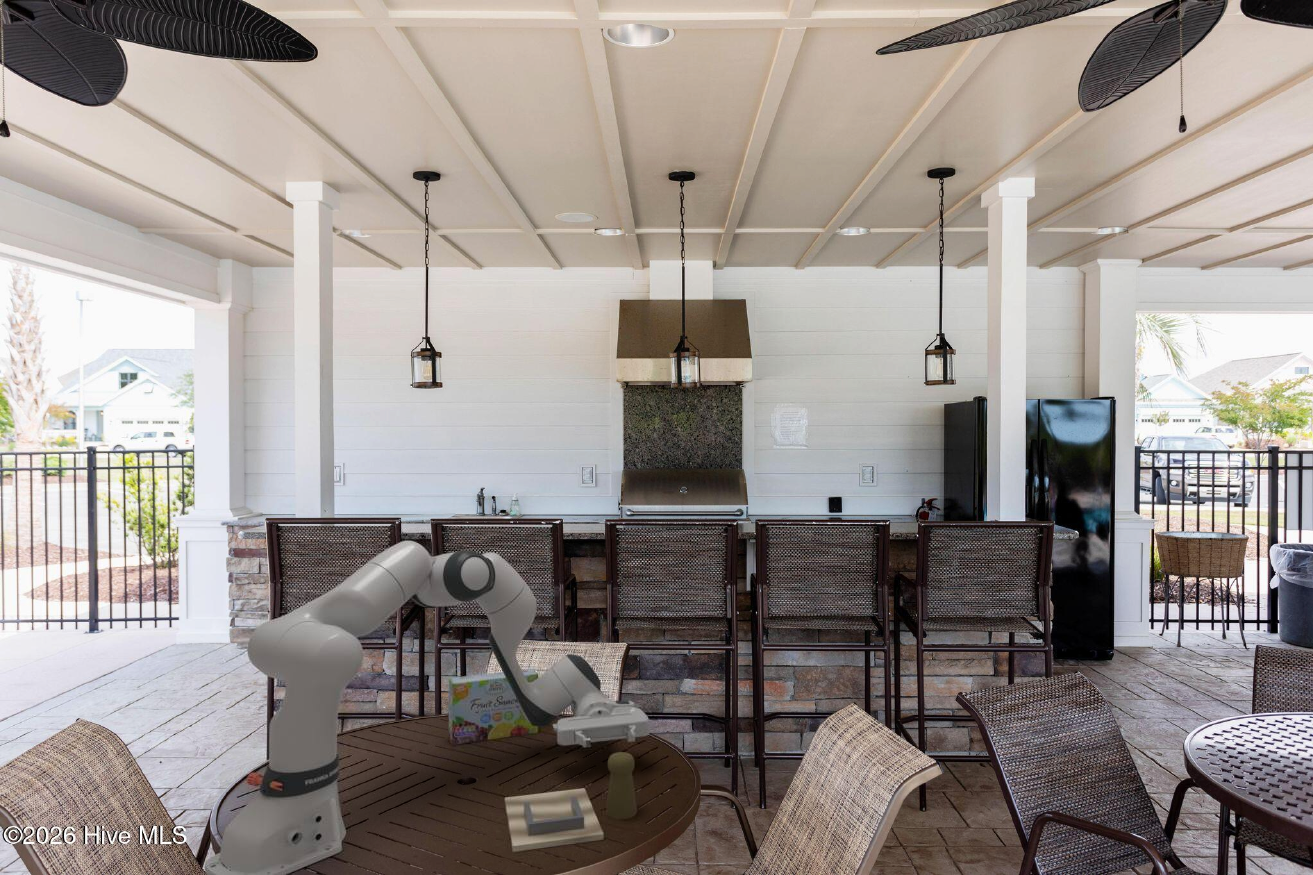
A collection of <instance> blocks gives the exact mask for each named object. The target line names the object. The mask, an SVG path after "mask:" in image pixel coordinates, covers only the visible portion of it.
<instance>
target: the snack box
mask: <svg viewBox="0 0 1313 875" xmlns="http://www.w3.org/2000/svg"><path fill="white" fill-rule="evenodd" d="M522 671H523V673H524V675H525V677H526V679H527V681H528V682H533V681H535V680H536V679H538V678H539V673H538V672H536V671H535V670H534V669H533V668H527V669H522ZM538 732H539V727H538V726H532V724H530V723H529V722H528V721H527V720H526V719H525V718H524V716H523V714H522V712H521V710H520V707H519V704H518V701H517V698H516V696H515V694H514V692H513V690H512V688H511V686H510V684H509V682H508V681H507V678H506V677H505V675H504V673H503V671H499V672H492V673H482V674H474V675H465V676H457V677H449V678H448V739H449V741H450V743H451V745H452V746H455V745H462V744H467V743H476V742H483V741H489V740H496V739H503V738H511V737H515V736H524V735H530V734H531V733H532V734H537V733H538ZM510 736H511V737H510Z"/></svg>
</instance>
